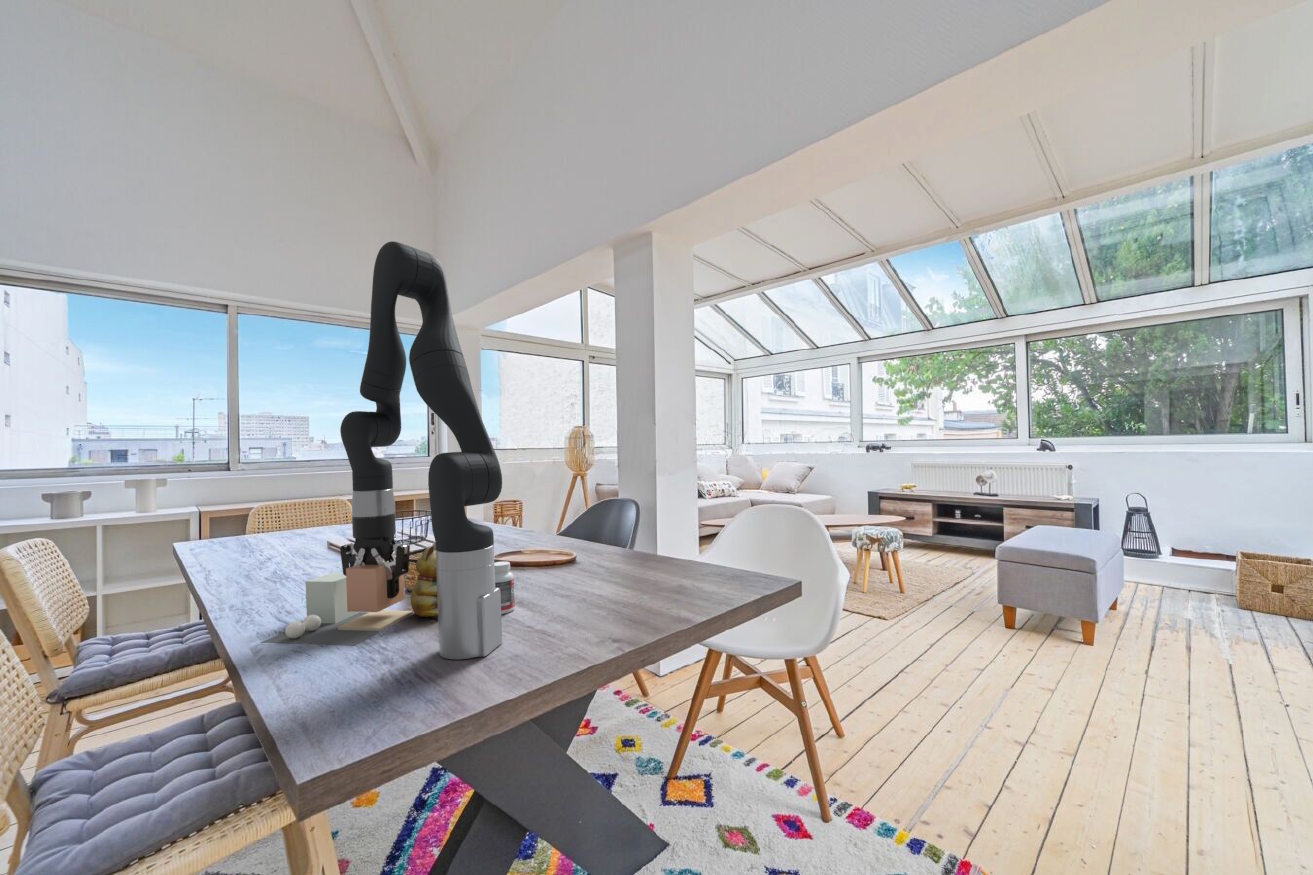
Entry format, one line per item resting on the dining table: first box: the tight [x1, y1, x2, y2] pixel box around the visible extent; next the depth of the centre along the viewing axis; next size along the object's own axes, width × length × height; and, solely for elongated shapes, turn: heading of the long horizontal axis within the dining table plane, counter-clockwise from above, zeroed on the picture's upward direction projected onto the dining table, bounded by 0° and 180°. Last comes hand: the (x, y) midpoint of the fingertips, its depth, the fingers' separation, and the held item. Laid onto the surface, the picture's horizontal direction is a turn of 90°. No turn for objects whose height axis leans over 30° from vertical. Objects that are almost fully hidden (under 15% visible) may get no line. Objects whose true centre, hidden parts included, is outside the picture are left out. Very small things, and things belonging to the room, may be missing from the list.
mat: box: [260, 609, 416, 647], centre depth 102 cm, size 19×17×1 cm
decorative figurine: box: [410, 543, 438, 620], centre depth 109 cm, size 10×8×15 cm
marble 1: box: [284, 620, 305, 639], centre depth 97 cm, size 3×3×3 cm
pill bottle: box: [494, 561, 516, 615], centre depth 110 cm, size 5×5×10 cm
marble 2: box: [302, 615, 321, 631], centre depth 101 cm, size 3×3×3 cm
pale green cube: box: [305, 572, 359, 623], centre depth 108 cm, size 6×6×8 cm
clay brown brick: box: [346, 561, 406, 612], centre depth 105 cm, size 6×8×8 cm
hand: (376, 596), depth 105 cm, fingers closed on clay brown brick, 6 cm apart
